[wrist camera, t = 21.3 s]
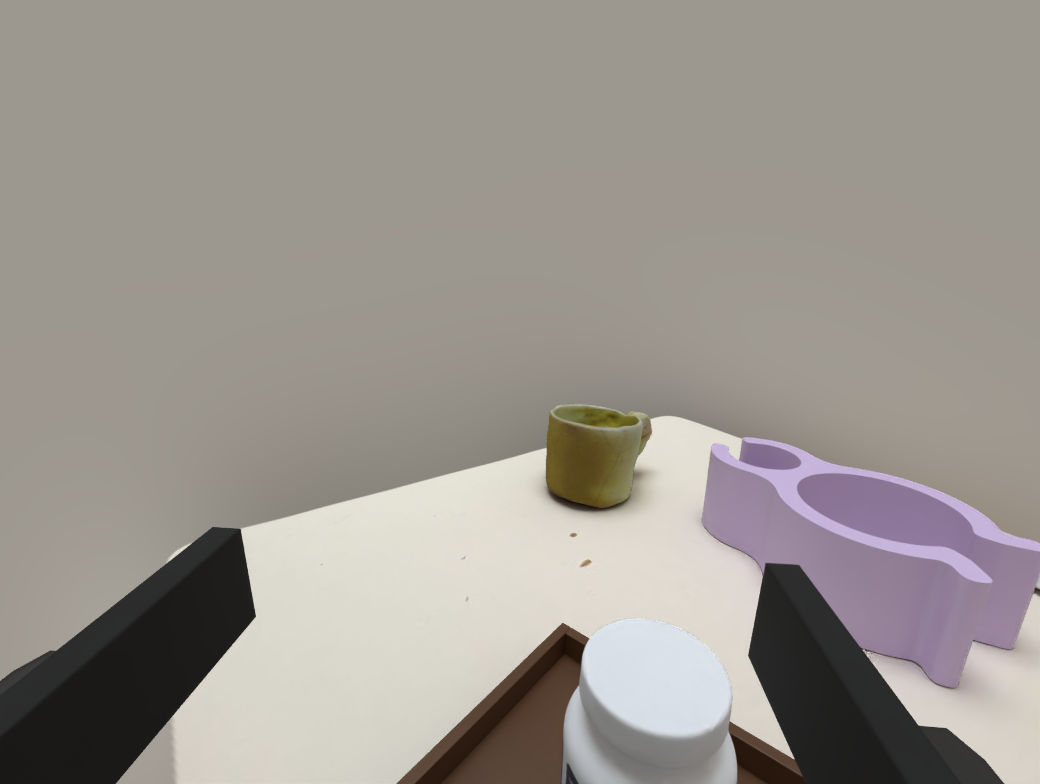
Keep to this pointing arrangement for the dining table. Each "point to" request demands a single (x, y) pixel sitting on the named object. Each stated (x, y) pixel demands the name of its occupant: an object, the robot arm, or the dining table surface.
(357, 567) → the dining table surface
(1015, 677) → the dining table surface
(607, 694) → the pill bottle
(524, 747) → the brown square tray
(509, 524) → the dining table surface
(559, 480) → the mug
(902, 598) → the clip
